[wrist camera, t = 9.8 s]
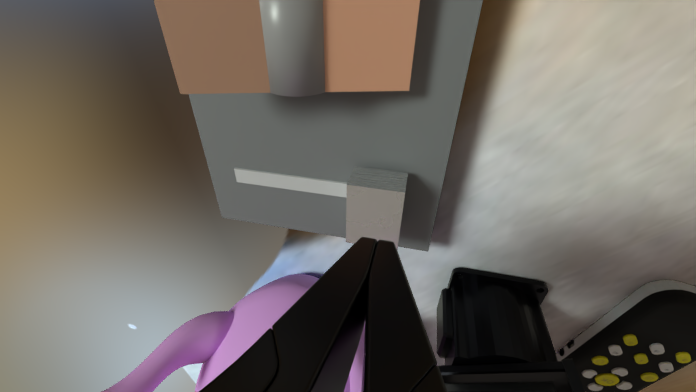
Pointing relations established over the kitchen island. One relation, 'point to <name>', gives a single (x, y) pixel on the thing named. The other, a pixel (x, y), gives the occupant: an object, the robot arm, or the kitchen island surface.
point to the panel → (343, 137)
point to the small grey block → (375, 204)
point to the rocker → (289, 45)
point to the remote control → (637, 339)
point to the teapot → (226, 338)
